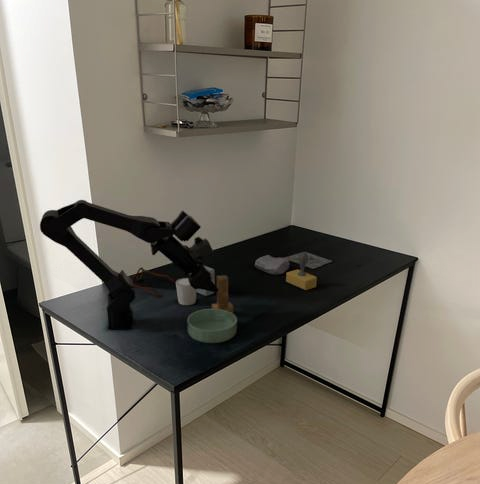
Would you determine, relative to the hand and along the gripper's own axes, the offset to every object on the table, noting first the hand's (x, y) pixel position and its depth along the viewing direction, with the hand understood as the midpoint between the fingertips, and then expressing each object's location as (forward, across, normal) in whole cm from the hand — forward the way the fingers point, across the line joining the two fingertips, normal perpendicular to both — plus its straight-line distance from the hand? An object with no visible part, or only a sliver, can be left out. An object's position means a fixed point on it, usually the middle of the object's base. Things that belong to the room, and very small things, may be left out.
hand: (214, 285), depth 147 cm
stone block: (+28, +34, -14) cm, 46 cm away
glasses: (-5, +26, +19) cm, 33 cm away
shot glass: (+3, +12, +12) cm, 17 cm away
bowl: (+5, -10, +9) cm, 15 cm away
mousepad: (+44, +38, -30) cm, 65 cm away
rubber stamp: (+32, +18, -18) cm, 41 cm away
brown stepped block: (+9, 0, +5) cm, 10 cm away
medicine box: (+7, +19, +7) cm, 21 cm away
